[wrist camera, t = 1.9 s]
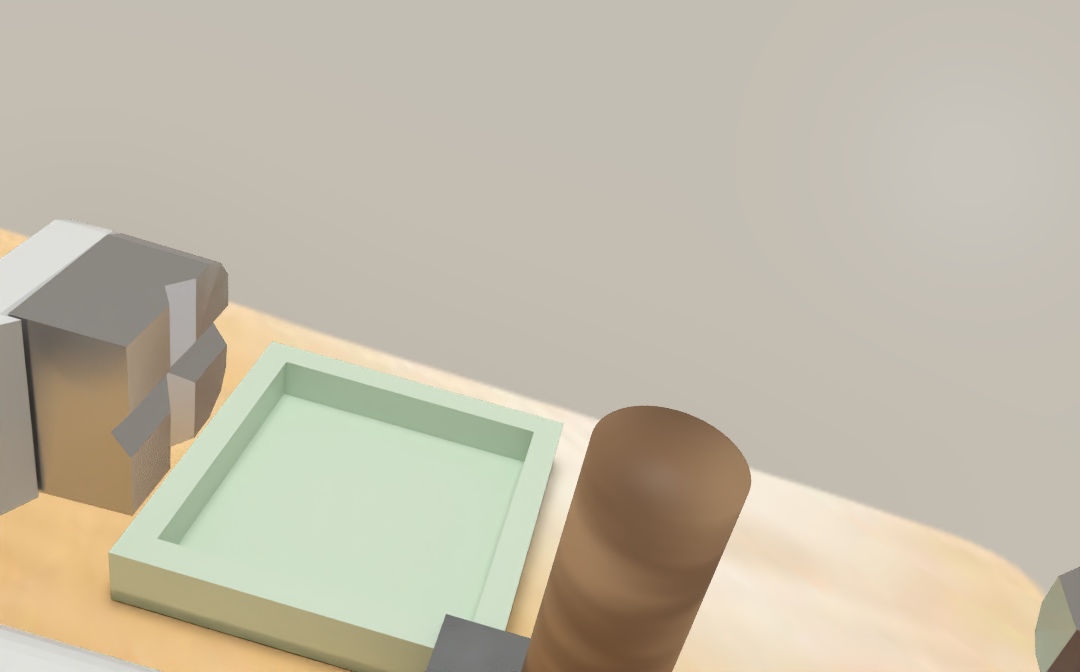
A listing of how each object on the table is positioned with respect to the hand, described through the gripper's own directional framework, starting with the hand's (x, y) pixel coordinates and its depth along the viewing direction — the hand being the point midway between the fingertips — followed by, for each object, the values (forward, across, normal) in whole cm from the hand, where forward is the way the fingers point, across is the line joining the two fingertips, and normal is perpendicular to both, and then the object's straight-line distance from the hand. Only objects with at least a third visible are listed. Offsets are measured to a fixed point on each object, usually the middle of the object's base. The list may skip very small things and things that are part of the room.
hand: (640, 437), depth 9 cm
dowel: (+12, -2, +26) cm, 28 cm away
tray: (+23, +8, +26) cm, 36 cm away
